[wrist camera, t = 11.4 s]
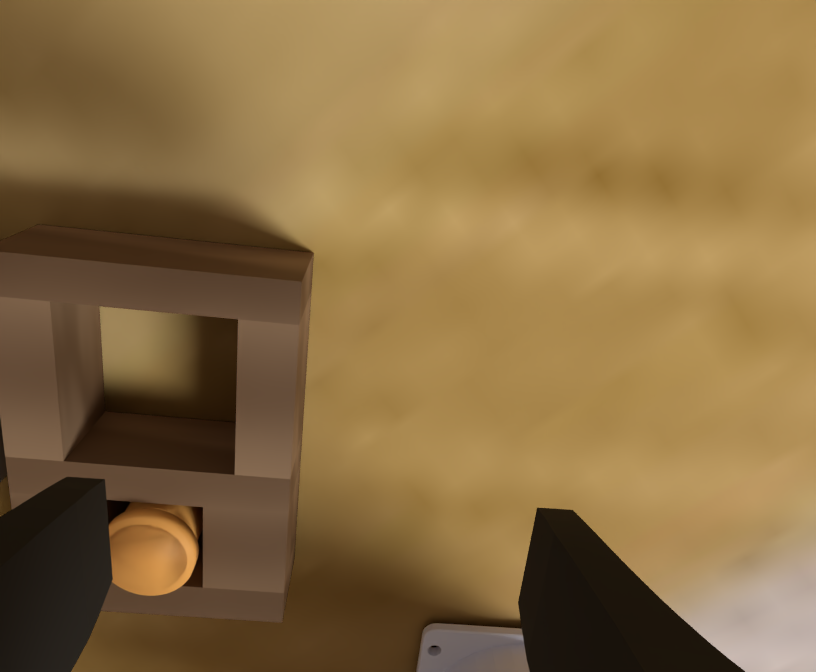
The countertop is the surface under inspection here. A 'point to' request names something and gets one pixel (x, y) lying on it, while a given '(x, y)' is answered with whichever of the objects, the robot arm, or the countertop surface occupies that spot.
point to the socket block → (158, 435)
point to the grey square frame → (2, 457)
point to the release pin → (154, 547)
